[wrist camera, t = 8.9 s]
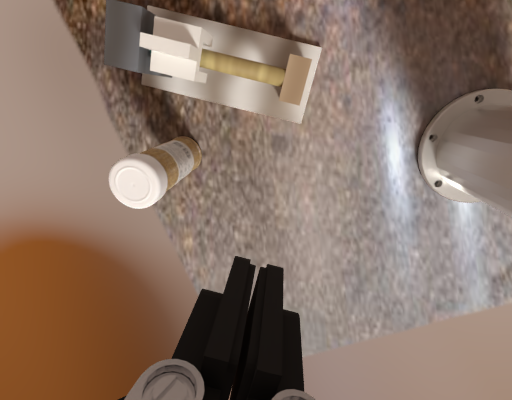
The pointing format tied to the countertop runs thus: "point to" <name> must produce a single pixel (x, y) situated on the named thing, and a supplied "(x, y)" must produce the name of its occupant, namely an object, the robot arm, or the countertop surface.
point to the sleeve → (176, 48)
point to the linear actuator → (219, 62)
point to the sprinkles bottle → (153, 171)
